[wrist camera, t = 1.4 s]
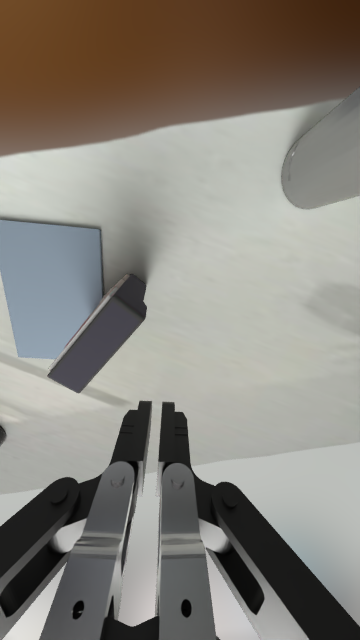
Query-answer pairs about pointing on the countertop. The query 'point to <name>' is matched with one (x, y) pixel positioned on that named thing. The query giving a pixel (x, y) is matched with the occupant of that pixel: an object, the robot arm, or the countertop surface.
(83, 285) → the mat
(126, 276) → the dark grey boxy piece
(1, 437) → the supplement bottle
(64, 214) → the countertop surface
